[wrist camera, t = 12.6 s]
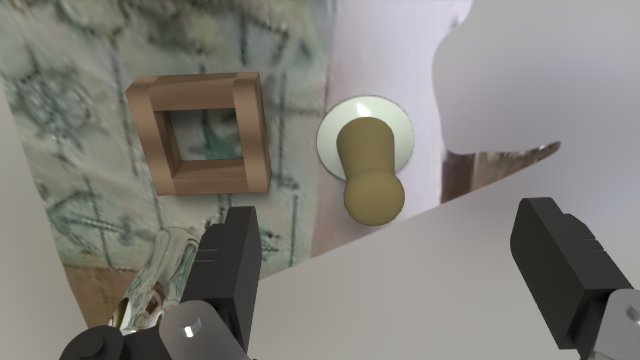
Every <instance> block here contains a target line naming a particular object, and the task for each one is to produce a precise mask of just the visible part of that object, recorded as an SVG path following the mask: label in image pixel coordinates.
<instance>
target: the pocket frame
mask: <svg viewBox="0 0 640 360" xmlns="http://www.w3.org/2000/svg"><path fill="white" fill-rule="evenodd" d="M125 93H126V96H127V99H128V102H129V106H130V109H131V112H132V115H133V118H134V122H135V125H136V128H137V131H138V134H139V138H140V141H141V144H142V147H143V150H144V154H145V157H146V160H147V163H148V166H149V170H150V173H151V176H152V179H153V182H154V186H155V189H156V192H157V195H158V196H164V195H194V194H224V193H253V192H269V186H270V180H271V174H272V172H271V165H270V157H269V149H268V141H267V133H266V125H265V117H264V109H263V102H262V94H261V86H260V78H259V72H245V73H220V74H196V75H172V76H147V77H138V78H137V79H136V80H135V81H134V82H133V83H132V84H131V86H130V87H129V88H128V89H127V90H126V91H125ZM218 108H235V110H236V116H237V122H238V128H239V134H240V140H241V146H242V152H243V158H244V159H222V160H194V161H181V158H180V154H179V151H178V147H177V143H176V139H175V135H174V131H173V128H172V124H171V120H170V116H169V112H168V110H192V109H218Z"/></svg>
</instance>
